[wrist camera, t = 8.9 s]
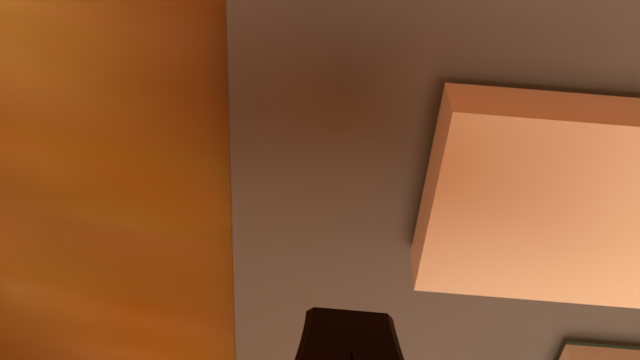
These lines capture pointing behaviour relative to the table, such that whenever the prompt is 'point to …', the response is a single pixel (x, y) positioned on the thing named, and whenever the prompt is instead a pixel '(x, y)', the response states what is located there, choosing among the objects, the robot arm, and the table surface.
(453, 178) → the tile
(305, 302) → the slate board
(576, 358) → the tile
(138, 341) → the table surface
